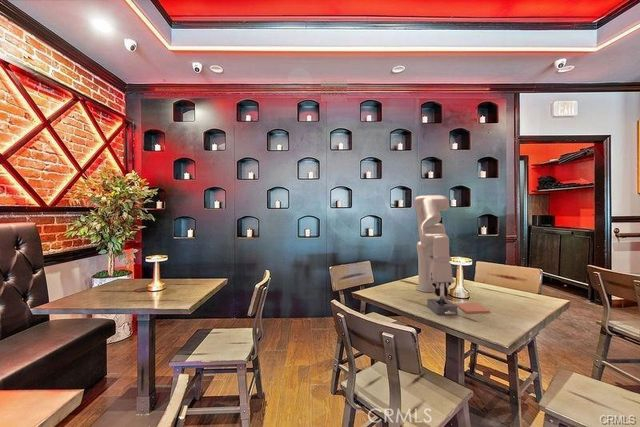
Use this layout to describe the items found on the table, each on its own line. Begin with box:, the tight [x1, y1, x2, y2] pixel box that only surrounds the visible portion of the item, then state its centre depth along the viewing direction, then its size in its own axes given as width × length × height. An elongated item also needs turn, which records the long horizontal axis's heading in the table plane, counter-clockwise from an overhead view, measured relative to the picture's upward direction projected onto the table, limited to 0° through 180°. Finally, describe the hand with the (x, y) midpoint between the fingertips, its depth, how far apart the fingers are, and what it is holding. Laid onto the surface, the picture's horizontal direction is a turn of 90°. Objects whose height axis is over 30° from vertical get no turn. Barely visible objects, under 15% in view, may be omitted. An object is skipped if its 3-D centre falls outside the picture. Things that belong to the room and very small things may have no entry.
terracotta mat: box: [453, 302, 491, 314], centre depth 147 cm, size 12×12×1 cm
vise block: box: [426, 298, 458, 316], centre depth 144 cm, size 16×10×4 cm, turn 1°
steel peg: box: [437, 282, 446, 304], centre depth 146 cm, size 3×3×12 cm
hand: (441, 295), depth 146 cm, fingers closed on steel peg, 3 cm apart
